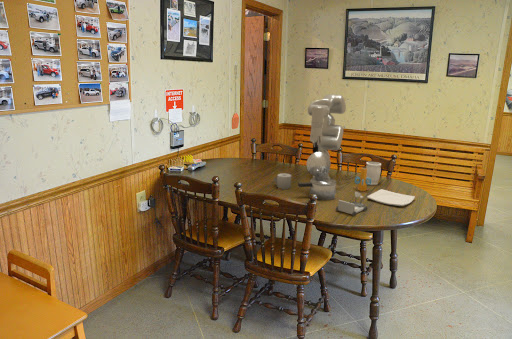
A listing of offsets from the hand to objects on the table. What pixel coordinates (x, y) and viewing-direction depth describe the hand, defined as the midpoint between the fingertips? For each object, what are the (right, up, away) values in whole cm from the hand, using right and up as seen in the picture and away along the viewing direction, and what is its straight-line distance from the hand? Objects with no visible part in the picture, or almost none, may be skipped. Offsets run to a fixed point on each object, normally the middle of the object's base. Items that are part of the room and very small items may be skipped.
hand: (315, 152), depth 270 cm
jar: (+43, -21, +21) cm, 53 cm away
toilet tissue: (-21, -23, +7) cm, 32 cm away
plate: (+45, -31, -14) cm, 57 cm away
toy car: (+17, -35, -34) cm, 52 cm away
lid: (+2, -8, -6) cm, 10 cm away
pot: (-1, -28, -11) cm, 30 cm away
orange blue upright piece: (+32, -25, +5) cm, 41 cm away
